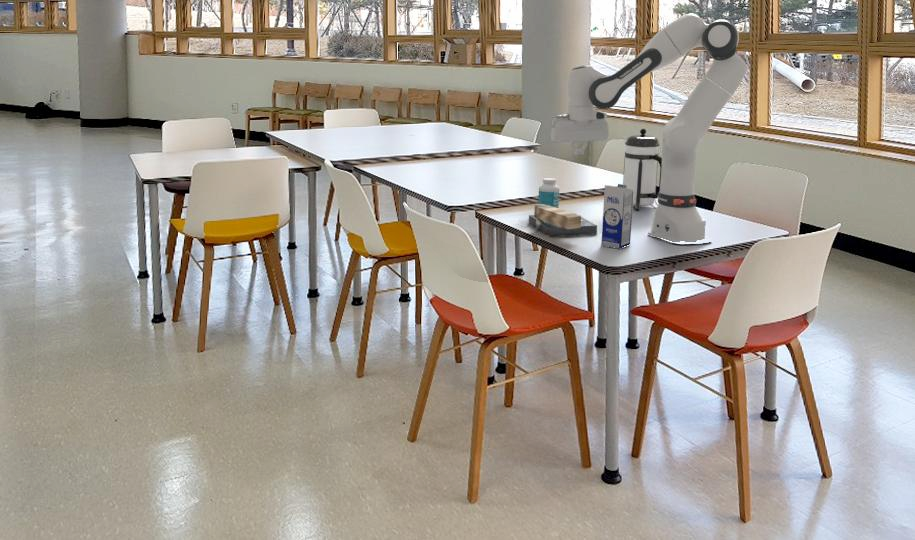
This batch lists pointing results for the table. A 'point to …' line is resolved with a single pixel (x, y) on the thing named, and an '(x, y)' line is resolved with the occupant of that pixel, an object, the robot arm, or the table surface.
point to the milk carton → (617, 216)
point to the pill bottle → (549, 193)
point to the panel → (556, 230)
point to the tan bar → (557, 216)
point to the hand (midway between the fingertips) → (579, 154)
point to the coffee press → (642, 168)
